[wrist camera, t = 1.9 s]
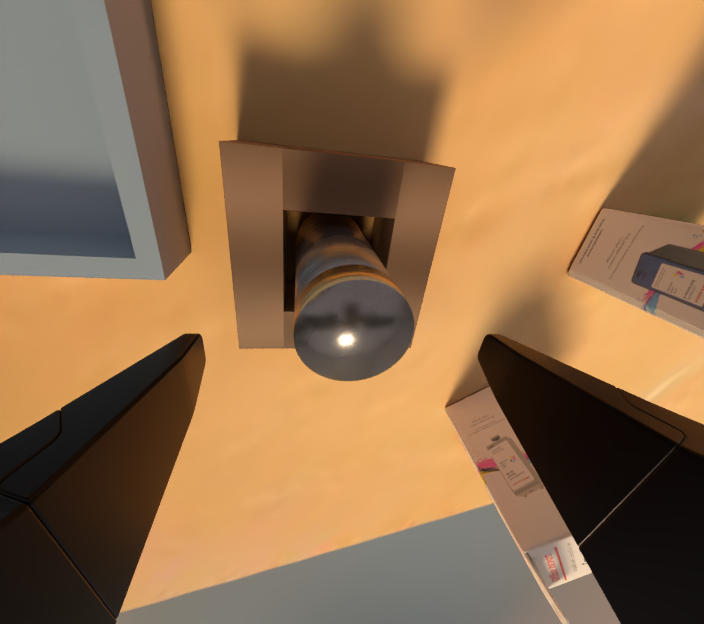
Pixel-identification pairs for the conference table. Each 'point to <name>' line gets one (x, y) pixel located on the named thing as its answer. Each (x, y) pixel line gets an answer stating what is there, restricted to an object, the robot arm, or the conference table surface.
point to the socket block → (322, 197)
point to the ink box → (647, 265)
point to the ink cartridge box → (518, 493)
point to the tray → (86, 143)
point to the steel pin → (346, 303)
